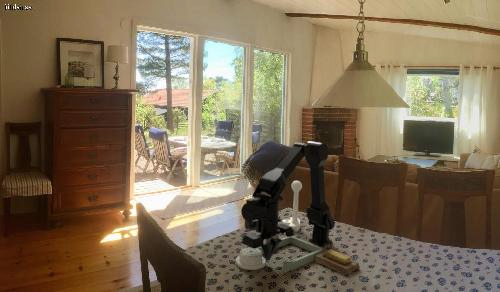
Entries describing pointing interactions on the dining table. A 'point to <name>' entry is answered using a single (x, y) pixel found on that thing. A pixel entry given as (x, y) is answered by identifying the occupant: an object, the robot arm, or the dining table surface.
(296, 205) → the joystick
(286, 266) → the green u-shaped frame
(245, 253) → the mechanical component
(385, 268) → the dining table surface
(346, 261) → the block
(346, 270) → the rectangular frame
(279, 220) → the robot arm
